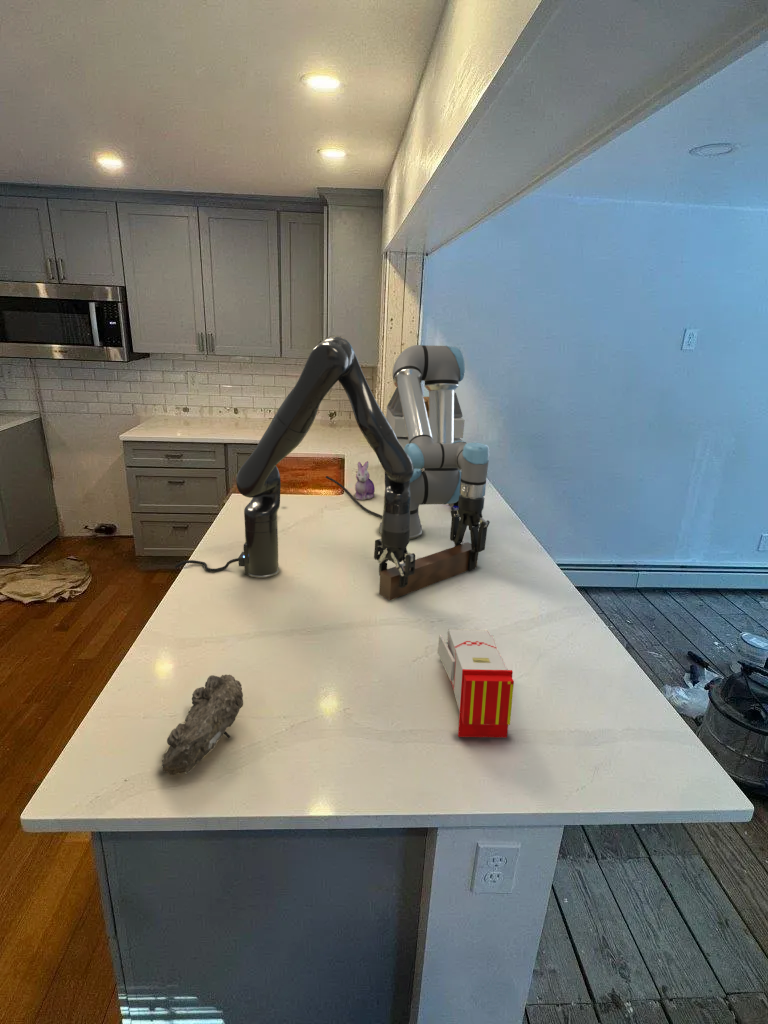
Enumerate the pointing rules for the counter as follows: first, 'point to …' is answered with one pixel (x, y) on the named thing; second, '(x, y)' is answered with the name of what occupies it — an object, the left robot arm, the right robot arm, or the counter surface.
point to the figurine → (363, 483)
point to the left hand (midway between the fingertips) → (392, 581)
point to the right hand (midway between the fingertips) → (464, 566)
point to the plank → (426, 571)
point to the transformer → (398, 423)
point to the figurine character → (454, 505)
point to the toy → (478, 682)
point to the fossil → (203, 723)
